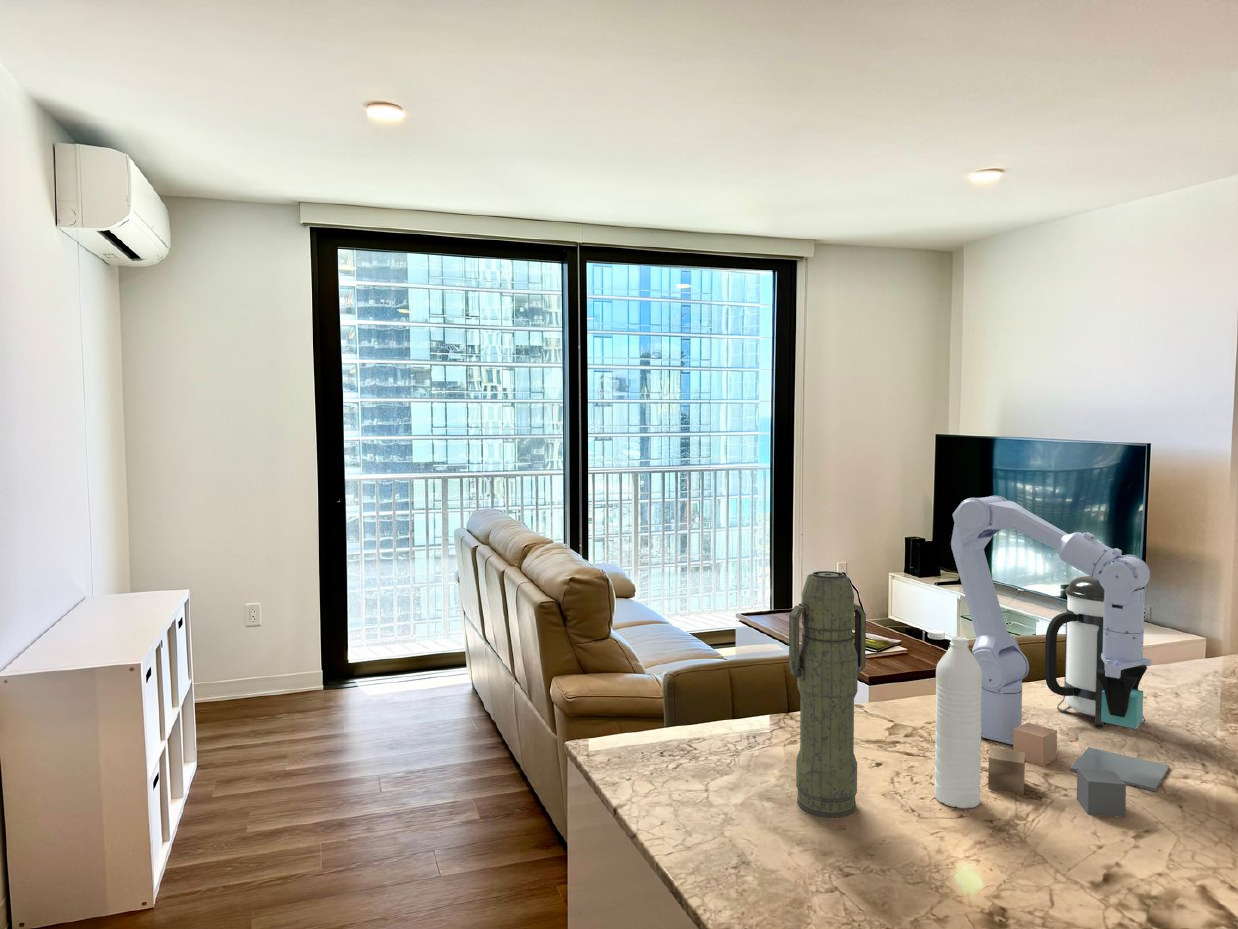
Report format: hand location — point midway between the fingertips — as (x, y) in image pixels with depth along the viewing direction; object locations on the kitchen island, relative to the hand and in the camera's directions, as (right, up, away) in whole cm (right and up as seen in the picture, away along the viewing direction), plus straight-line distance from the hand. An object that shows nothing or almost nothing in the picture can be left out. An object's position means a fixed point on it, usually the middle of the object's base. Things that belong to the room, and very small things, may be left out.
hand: (1121, 711), depth 138 cm
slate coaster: (0, -10, 0) cm, 10 cm away
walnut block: (-22, -10, -6) cm, 25 cm away
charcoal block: (-11, -11, -14) cm, 21 cm away
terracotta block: (-12, -10, +6) cm, 16 cm away
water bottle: (-32, -11, -10) cm, 35 cm away
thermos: (-52, -11, -12) cm, 54 cm away
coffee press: (+10, -9, +25) cm, 28 cm away
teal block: (0, -2, 0) cm, 2 cm away
